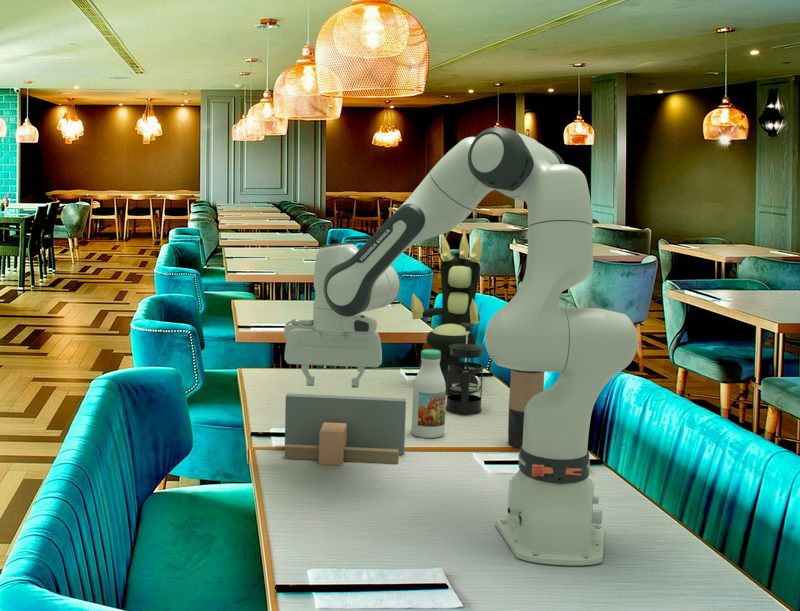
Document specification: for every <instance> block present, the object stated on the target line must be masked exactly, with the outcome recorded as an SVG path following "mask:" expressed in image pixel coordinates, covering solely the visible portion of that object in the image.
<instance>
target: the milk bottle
mask: <svg viewBox="0 0 800 611" xmlns="http://www.w3.org/2000/svg"><path fill="white" fill-rule="evenodd" d="M440 358H441V352H440V350H438V349H434V348H432V349H423V350H421V351H420V360H421V364H420V368H419V370H418V372H417V375H416V376H415V379H414V381H413V390H412V409H411V433H412V434H413V436H416V437H418V438H424V439H434V438H435V439H436V438H441V437H442V436H443V435H444V434H445V427H446V425H445V424H446V405H447V393H446V385H445V380H444V377H443V374H442V372H441V369H440V360H441V359H440Z"/></svg>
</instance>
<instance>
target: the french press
mask: <svg viewBox="0 0 800 611" xmlns="http://www.w3.org/2000/svg"><path fill="white" fill-rule="evenodd" d="M459 325H461V326H465V331H466V344H452V345H449V348H451V355H452V356H455V357H461V359H462V358H463V359H464V361H462V362H452V363H449V364H448V383H447V393H446V405H445V412H448V413H451V414H453V415H460V416H461V415H462V416H473V415H478V414H480V413H482V411H483V409H482V397H483V396H482V392H483V372H484V366H483V364H482V363H478V362H472V361H467V359H475V358H480V357H482V356H483V351H484V349H485V347H484V346H483V345H479V344H476V343H475V344H467V339H468V331H469V326H471V327H476V325H477V324H473V323H460V324H459ZM455 367H462V368H455ZM468 368H469V369H468ZM449 371H451V372H454V373H460V374H461V383H452V384H449ZM470 374H474V375H477V374H480V385H479V384H478V385H477V384H472V383H469V375H470ZM448 386H449V389H451V390H454V391H458V392H461V393H460V394H448ZM479 391H480V396H478V395H475V394H470V393H474V392H479Z"/></svg>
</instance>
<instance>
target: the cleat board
mask: <svg viewBox="0 0 800 611" xmlns="http://www.w3.org/2000/svg"><path fill="white" fill-rule="evenodd" d="M284 406H285V410H284V411H285V412H284V413H285V416H284V418H285V419H284V421H285V422H284V423H285V424H284V459H288V460H289V459H290V460H291V459H292V460H293V459H294V460H310V461H311V460H312V461H319V432H320V429H321V427H322V425H323V423H324V422H327V423H347V441H346V447H344V462H356V463H373V464H374V463H375V464H376V463H379V464H399V456H405V445H406V444H405V443H406V442H405V441H406V439H405V437H406V414H407V413H406V412H407V398H403V397H402V398H397V397H382V396H381V397H379V396H378V397H377V396H374V397H373V396H354V395H334V394H333V395H330V394H329V395H328V394H311V393H286V395H285V405H284Z"/></svg>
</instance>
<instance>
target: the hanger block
mask: <svg viewBox="0 0 800 611" xmlns="http://www.w3.org/2000/svg"><path fill="white" fill-rule="evenodd" d="M346 441H347V423H327V422H324V423H323V425H322V427H321V429H320V432H319V460H318V465H331V466H332V465H334V466H343V465H344V462H345V461H344V447H346Z"/></svg>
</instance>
